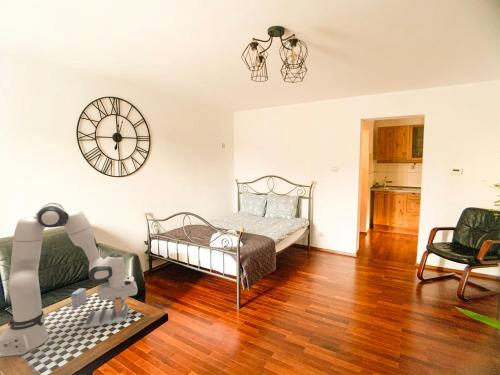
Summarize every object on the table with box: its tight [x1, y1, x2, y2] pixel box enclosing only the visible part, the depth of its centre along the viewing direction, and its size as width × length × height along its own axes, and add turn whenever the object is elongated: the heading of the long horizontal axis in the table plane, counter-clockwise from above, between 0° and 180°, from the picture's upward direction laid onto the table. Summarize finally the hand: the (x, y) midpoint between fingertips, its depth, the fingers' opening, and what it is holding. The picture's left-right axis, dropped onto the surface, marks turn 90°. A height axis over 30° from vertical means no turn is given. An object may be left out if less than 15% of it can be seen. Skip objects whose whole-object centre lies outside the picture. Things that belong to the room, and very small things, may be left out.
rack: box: [85, 302, 130, 329], centre depth 154 cm, size 20×14×4 cm
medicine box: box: [70, 287, 88, 308], centre depth 170 cm, size 8×4×9 cm, turn 178°
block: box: [114, 297, 125, 312], centre depth 156 cm, size 3×8×7 cm, turn 17°
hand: (119, 304), depth 156 cm, fingers closed on block, 3 cm apart
